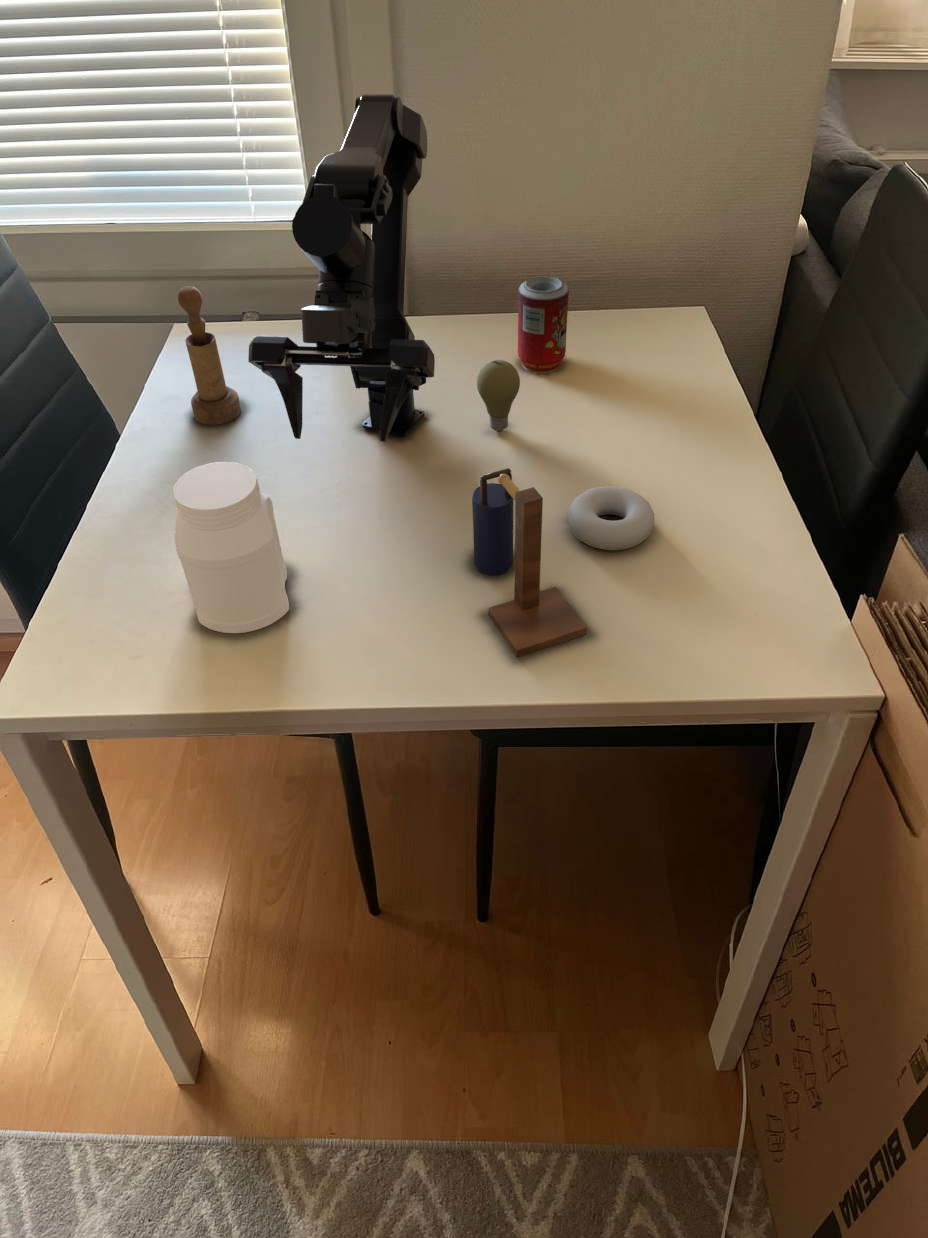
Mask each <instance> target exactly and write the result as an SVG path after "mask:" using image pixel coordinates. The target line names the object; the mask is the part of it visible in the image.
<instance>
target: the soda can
mask: <svg viewBox="0 0 928 1238" xmlns="http://www.w3.org/2000/svg"><path fill="white" fill-rule="evenodd" d="M569 289H570V288H569V286H568V284H566V283H565V281H564V280H562V279H561V278H560V279H559V278H557V277H554V276H542V275H538V276H537V275H536V276H534V277H531V278H528V279H526V280H525V281H524V282H522V283H521V284H520V285H519V287H518V289H517V290H518V293H517V294H518V297H517V298H518V302H517V356H518V358H519V361H520V362H521V365H522V367H523V368H524V369H525V370H526V371H528V372H531V373H534V374H535V373H536V374H548V373H552V372H554V371H557V370H558V369H559V368H560V366H561V363H562V362H563V359H564V358H565V356H566V352H567V349H566V348H567V329H568V310H569V294H570V290H569Z"/></svg>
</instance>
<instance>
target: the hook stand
mask: <svg viewBox="0 0 928 1238" xmlns="http://www.w3.org/2000/svg"><path fill="white" fill-rule="evenodd" d="M498 484H501V485H503V487H504V488H505V489H506V490H507V492H508V493H509V494H510V495H511V497H512V498H513V499H514V590H513V591H514V595H513V597H514V599H511V600H508V601H504V602H503V603H499V604H496V605H492V606H490V607H488V615H489V617H490V619H491V620H492V622H493V623H494V625H495V626H496V628H497V629H498V631H499V632H500V634H501V635H502V637H503V638H504V640H505V641H506V643H507V644H508V646H509V647H510V649H511V651H512V652H513V654H514V655H515V656H516V658H519V657H522V656H525V655H528V654H530V653H534V652H537V651H539V650H542V649H546V648H549V647H551V646H555V645H558V644H561V643H563V642H567V641H569V640H572V639H576V638H579V637H581V636H585V635H587V632H588V627H587V625H586V623H585V622H584V621H583V620H582V619H581V617H580V615H579V614H578V613H577V612H576V611H575V609H574V608H573V607H572V605H571V604H570V603H569V602H568V600H567V599H566V597H565V596H564V595H563V594H562V592H561V591H560V590H559V589H558V587H557V586H553V587H550V588H546V589H543V590H541V588H540V587H541V564H542V563H541V562H542V537H543V536H542V534H543V533H542V532H543V531H542V530H543V506H544V505H543V504H544V503H543V502H544V497H543V496H542V495H541V494H540V493H539V492H538V490H537V489H536V487H534V486H533V487H529V488H525V489H522V490H520V489H519V487H517V486H516V484H515V483H514V482H513V480H512V481H511V479H510V477H509V475H507V474H501V475H500V476H499V477H498Z"/></svg>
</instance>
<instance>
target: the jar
mask: <svg viewBox="0 0 928 1238" xmlns="http://www.w3.org/2000/svg"><path fill="white" fill-rule="evenodd" d="M172 496H173V499H174V503H175V506H176V510H175V511H176V514H175V515H176V516H175V528H174V543H175V548H176V549H175V551H176V553H177V556H178V559H179V560H180V563H181V566H182V569H183V573H184V576H185V579H186V582H187V585H188V589H189V592H190V595H191V598H192V602H193V605H194V608H195V611H196V617H197V620H198V623H199V624H201V626H203V627H205V628H206V629H209V630H211V631H215V632H218V633H224V634H244V633H250V632H255V631H257V630H260V629H263V628H266V627H268V626H270V625H272V624H274V623H275V622H277V621H279V620H280V619H281V618H282V617H284V616H285V615H286V614H287V613H288V612H289V610H290V602H289V601H290V600H289V597H288V594H287V591H286V581H287V579H288V571H287V567H286V562H285V561H284V556H283V555H284V554H283V552H282V546H281V541H280V537H279V532H278V528H277V523H276V517H275V514H274V505H273V500H272V499H271V497H269V496H268V495H266V494H265V493H264V492H262V491H261V490H260V485H259V482H258V478H257V475H256V473H255V472H254V470H252V468H250V467H248V466H247V465H245V464H242V463H239V462H235V461H215V462H209V463H205V464H202V465H199V466H196V467H194V468H192V469H189V470H188V471H186V472H184V474H182V475H181V476H180V477H179V478H178V479H177V480H176V482H175V484H174V486H173V489H172Z"/></svg>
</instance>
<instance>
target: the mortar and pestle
mask: <svg viewBox="0 0 928 1238" xmlns="http://www.w3.org/2000/svg"><path fill="white" fill-rule="evenodd" d="M177 300H178V304H179V306H180V307H181V308H182V309H183V310H184V311H185V313H186V314H187V315H188V321H187V322H186V324H187V328H188V330H189V331H190V333H191V334H189V335H188V336H187V337H186V338H185V340H184V341H185V345H186V350H187V353H188V357H189V361H190V365H191V368H192V373H193V378H194V382H195V386H196V392H195V394H193V396H192V397H191V399H190V406H191V409H192V413H193V417H194V419H195V420H196V421H197V422H199V423H200V424H203V425H212V426H213V425H222V424H225V423H228V422H230V421H232V420H234V419H236V418H237V417H238V416H239V415H240V414H241V411H242V407H241V402H240V397H239V394H238V392H237V390H235V389H234V388H232V387H229V386H227V384H226V380H225V375H224V371H223V366H222V362H221V358H220V352H219V347H218V343H217V339H216V336H215V334H213V333H211V332H208V331H206V319H204V318H202V317H201V316H200V315H201V310H202V306H203V301H204V300H203V295H202V293H201V292H200V290H199V289H198V288H197V287H195V286H191V285H188V286H184V287H182V288H181V289H180V290H179V292H178V294H177Z"/></svg>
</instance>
